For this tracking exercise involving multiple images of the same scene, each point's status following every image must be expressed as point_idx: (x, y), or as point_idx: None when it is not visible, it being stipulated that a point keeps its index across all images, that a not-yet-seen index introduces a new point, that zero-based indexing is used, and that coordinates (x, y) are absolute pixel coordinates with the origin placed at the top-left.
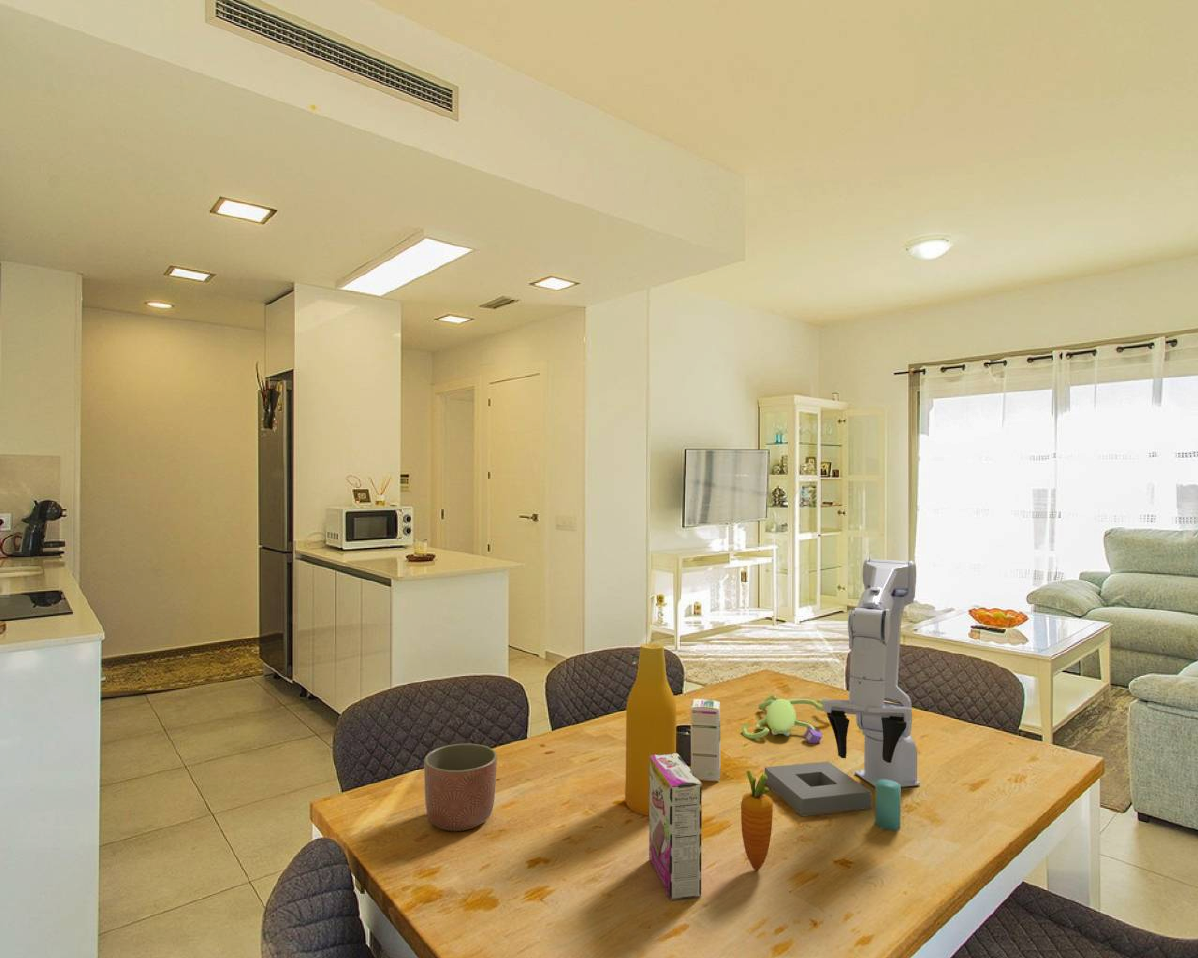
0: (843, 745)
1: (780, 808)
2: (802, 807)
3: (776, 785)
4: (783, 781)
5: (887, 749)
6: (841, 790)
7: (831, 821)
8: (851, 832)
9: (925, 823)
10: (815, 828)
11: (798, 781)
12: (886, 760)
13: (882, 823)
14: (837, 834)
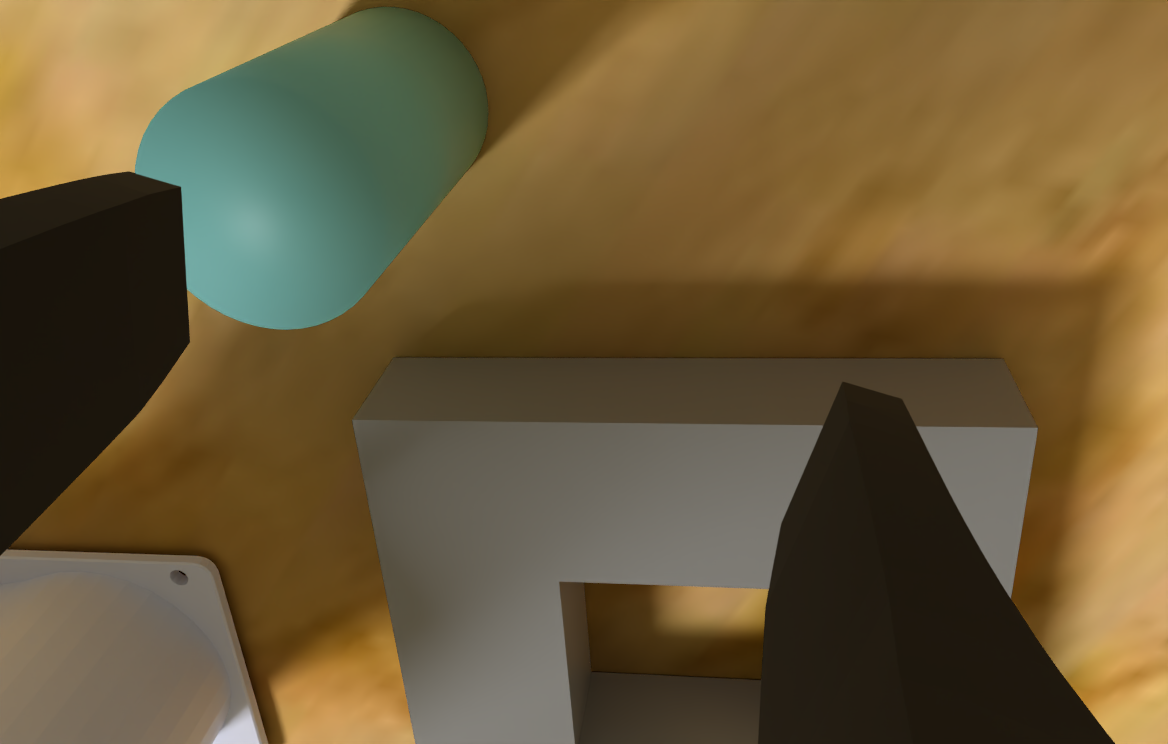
0: (933, 513)
1: (1087, 492)
2: (1018, 390)
3: None
4: None
5: (45, 305)
6: (591, 485)
7: (820, 239)
8: (769, 41)
9: (91, 66)
10: (1032, 161)
11: None
12: (171, 224)
13: (462, 63)
14: (912, 30)
